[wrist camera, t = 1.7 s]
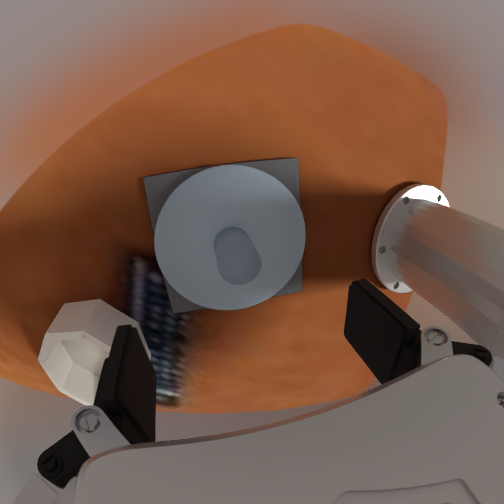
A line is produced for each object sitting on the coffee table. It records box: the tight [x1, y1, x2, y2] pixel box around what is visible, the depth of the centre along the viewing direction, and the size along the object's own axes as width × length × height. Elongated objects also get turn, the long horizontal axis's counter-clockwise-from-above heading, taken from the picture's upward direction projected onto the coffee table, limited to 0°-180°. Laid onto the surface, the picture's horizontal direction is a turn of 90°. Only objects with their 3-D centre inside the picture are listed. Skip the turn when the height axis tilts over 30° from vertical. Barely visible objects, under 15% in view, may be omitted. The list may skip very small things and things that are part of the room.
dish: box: [38, 299, 151, 406], centre depth 21 cm, size 10×10×5 cm
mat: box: [144, 158, 302, 313], centre depth 22 cm, size 12×12×1 cm
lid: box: [154, 165, 306, 310], centre depth 20 cm, size 12×12×5 cm
